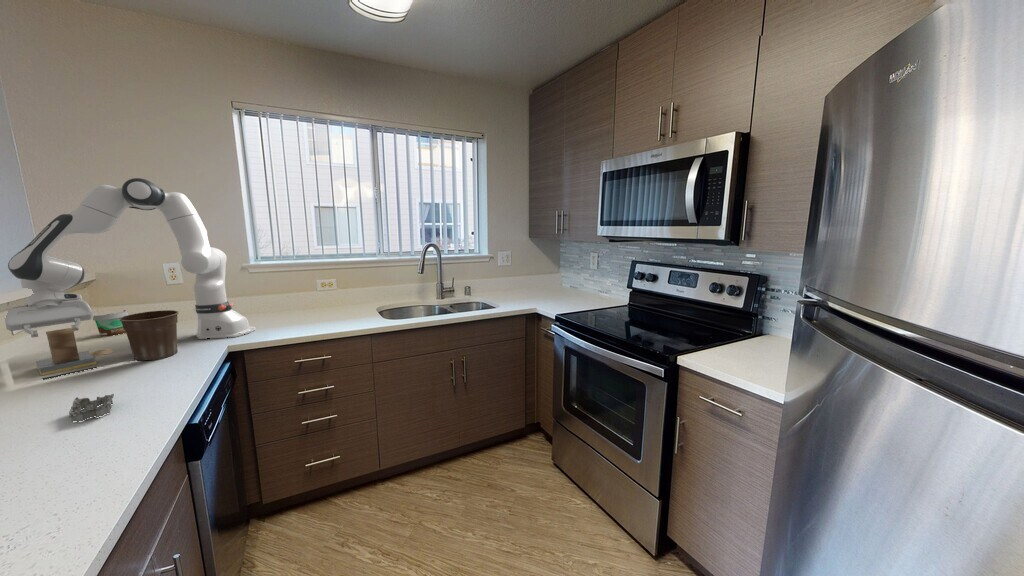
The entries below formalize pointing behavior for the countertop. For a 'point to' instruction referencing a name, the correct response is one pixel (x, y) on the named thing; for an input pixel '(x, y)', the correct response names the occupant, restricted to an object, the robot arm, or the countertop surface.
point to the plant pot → (152, 334)
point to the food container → (110, 324)
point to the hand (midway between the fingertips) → (55, 333)
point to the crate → (62, 345)
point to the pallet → (101, 352)
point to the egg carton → (90, 407)
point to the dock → (65, 365)
